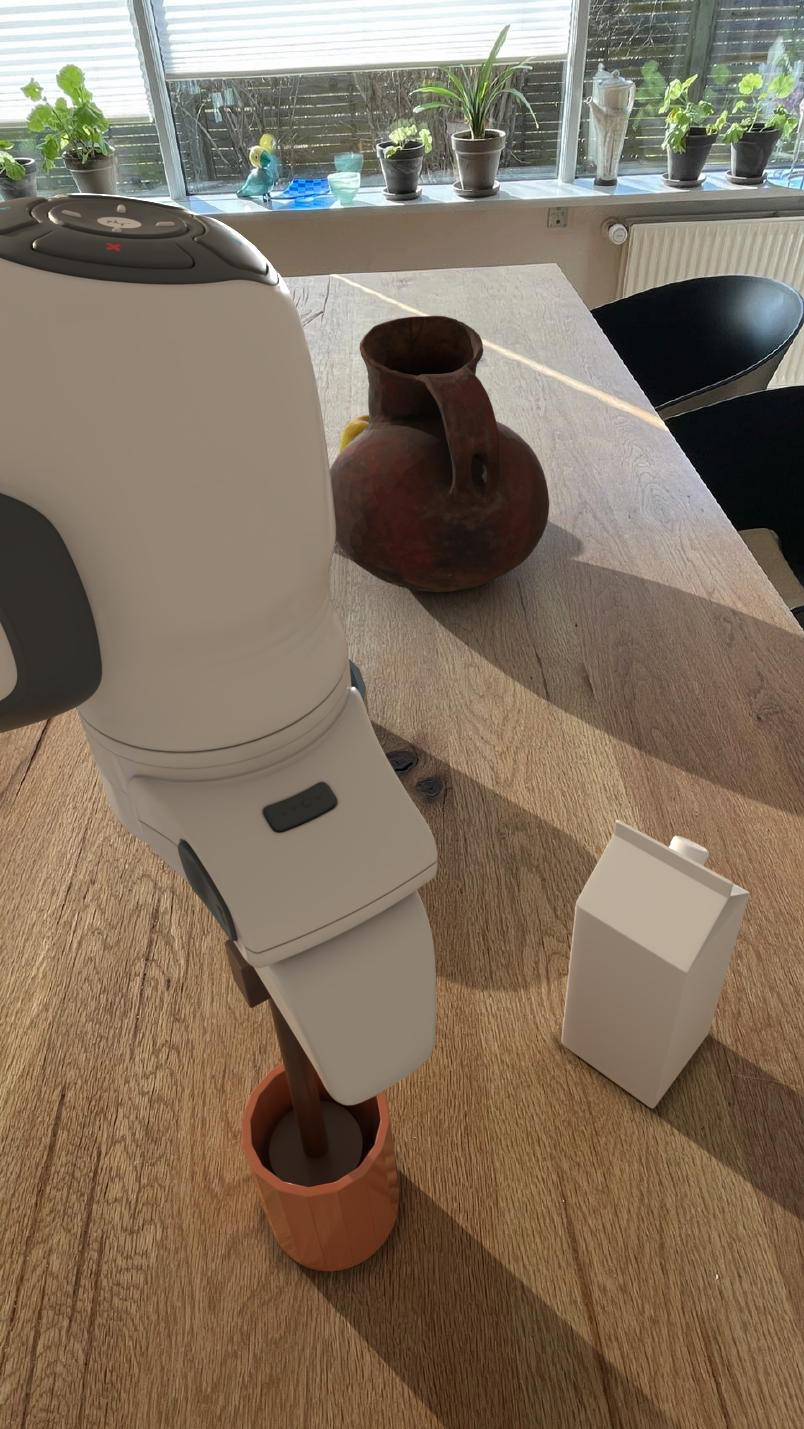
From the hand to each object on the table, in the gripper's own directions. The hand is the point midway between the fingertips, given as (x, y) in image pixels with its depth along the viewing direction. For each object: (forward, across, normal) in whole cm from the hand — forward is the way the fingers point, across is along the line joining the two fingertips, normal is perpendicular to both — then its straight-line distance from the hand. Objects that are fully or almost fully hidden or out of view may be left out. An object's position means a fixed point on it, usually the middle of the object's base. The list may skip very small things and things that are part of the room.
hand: (277, 968), depth 41 cm
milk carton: (+24, +2, +22) cm, 33 cm away
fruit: (+23, -80, +51) cm, 98 cm away
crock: (+24, 0, 0) cm, 24 cm away
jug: (+23, -56, +45) cm, 76 cm away
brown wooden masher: (+18, 0, 0) cm, 18 cm away
